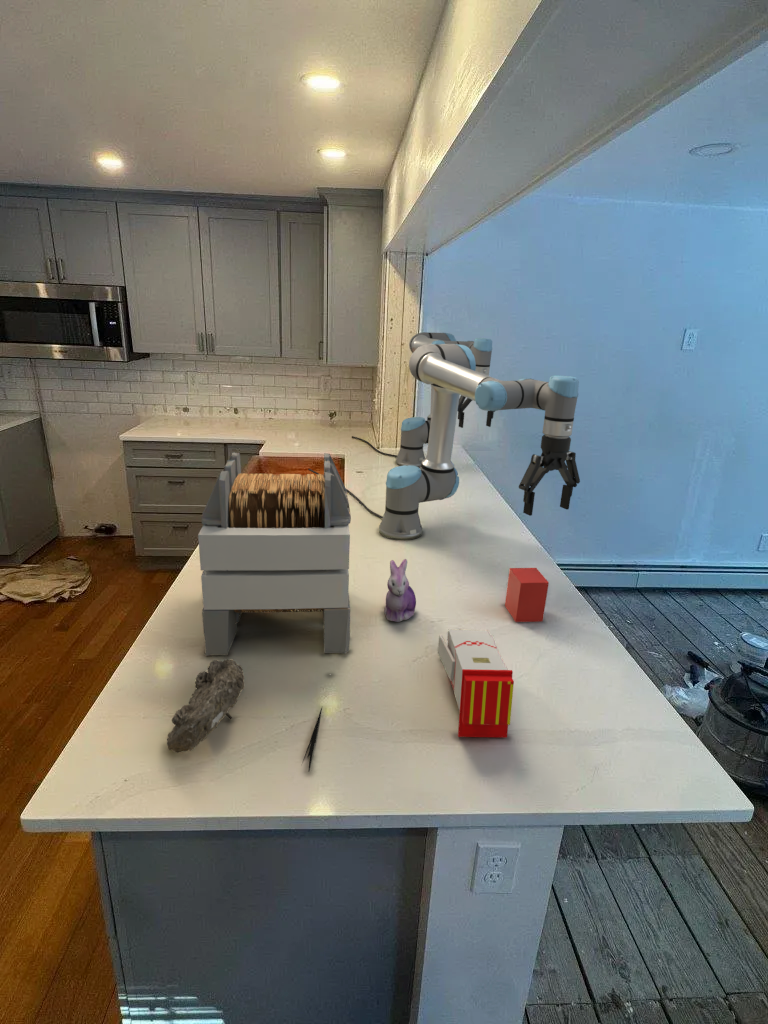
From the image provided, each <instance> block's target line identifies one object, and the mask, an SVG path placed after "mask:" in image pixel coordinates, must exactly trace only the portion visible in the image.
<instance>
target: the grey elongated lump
mask: <svg viewBox="0 0 768 1024" xmlns="http://www.w3.org/2000/svg"><path fill="white" fill-rule="evenodd" d="M243 670H244V669H243V667H242V665H240V664H237V662H236V661H235V660H234V659H232V658H231V659H227V658H226V659H224V660H223V661H222V660H217V659H212V660H211V661H210V663H209V665H208V666H207V671H201V672H199V673H198V674H197V675H196V676H195V680H194V684H195V685H194V687H195V689H194V690H193V693H192V694H191V697H190V698H189V700H188V704H184V705H182V706H181V707H180V709H177V710H176V711H175V713H174V715H173V716H172V718H171V723H172V724H173V727H172V730H171V731H170V732H168V734H167V738H166V741H167V742H166V745H167V749H168V750H169V751H173V752H174V753H176V754H178V753H182V752H188V751H189V752H192V751H193V750H195V748H196V747H197V746H199V744H200V743H201V742H203V741H204V740H205V739H206V738H207V737H208V736H209V735H210V734H211V733H212V732H214V730H215V729H217V727H218V726H219V724H220V722H221V721H222V720H223V719H224V718H225V716H226V717H227V719H229V720H233V717H232V715H230V714H229V710H230V709H231V708H234V706H235V704H236V703H237V702H238V699H239V697H240V695H241V693H242V691H243V690H245V689H244V688H245V675H244V671H243Z"/></svg>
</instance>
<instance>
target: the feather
mask: <svg viewBox="0 0 768 1024" xmlns="http://www.w3.org/2000/svg"><path fill="white" fill-rule="evenodd" d="M329 675H330V676H331V675H332V674H331V673H330V674H329ZM322 710H323V707H321V708H320V710H319V713H318V716H317V719H316V723H315V725H314V728H313V731H312V733H311V737H310V739H309V742H308V745H307V748H306V751H305V754H304V757H303V760H302V763H301V767H302V765H303V763H304V761H305V758H308V759H309V760H308V762H307V763H308V764H307V766H308V771H310V770H311V766H312V765H311V764H312V760H313V757H315V756H314V755H315V751H316V749H315V746H317V739H318V733H319V729H320V722H321V717H322V712H323V711H322ZM313 754H314V755H313ZM306 755H307V757H306Z"/></svg>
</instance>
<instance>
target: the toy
mask: <svg viewBox="0 0 768 1024" xmlns="http://www.w3.org/2000/svg"><path fill="white" fill-rule="evenodd" d="M446 640H447V643H446V641H445V639H444V636H443V635H442V634H439V637H438V646H437V656H438V657H439V659H440V661H441V663H442V666H443V668H444V670H445V672H446V674H447V677H448V679H449V681H450V684H451V687H452V690H453V693H454V697H455V701H456V705H457V708H458V711H459V714H458V715H459V716H458V730H457V731H458V732H457V737H458V738H508V731H509V726H510V725H511V717H512V707H513V697H514V696H513V695H514V684H515V680H514V679H513V673H514V671H513V670H512V669H508V667H507V665H506V662H505V661H504V659H503V658H502V655H501V653H500V651H499V649H498V647H497V643H496V639H495V637H494V635H493V634H491V632H490V631H489V629H467V628H466V629H465V628H463V629H461V628H460V629H459V628H448V630H447V639H446Z"/></svg>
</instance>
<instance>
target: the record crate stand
mask: <svg viewBox="0 0 768 1024" xmlns="http://www.w3.org/2000/svg"><path fill="white" fill-rule="evenodd" d="M241 463H242V462H241V453H240V452H235V451H233V452H231V455H230V457H229V459H227V460H226V463H225V466H224V468H223V470H222V471H220V474H219V475H218V477H217V479H216V482H215V483H214V486H213V489H212V491H211V494H210V495H209V498H208V499H207V502H206V505H205V507H204V509H203V511H202V514H201V517H200V520H201V524H202V527H201V529H200V530H199V532H198V535H197V538H198V550H199V552H198V553H199V563H200V565H199V567H200V571H202V573H201V575H200V580H201V581H200V582H201V594H202V605H203V607H202V609H201V610H202V611H201V617H202V629H203V638H204V639H203V640H204V649H205V650H204V651H205V652H204V655H205V656H206V657H212V656H228V654H229V652H230V650H231V647H232V645H233V643H234V640H235V638H236V635H237V632H238V623H240V620H241V617H242V614H244V613H250V614H251V613H253V614H254V613H257V614H258V613H298V612H301V613H302V612H308V613H309V612H322V614H323V654H344V655H346V654H347V653H349V652H350V639H351V604H350V595H349V594H350V593H349V586H350V585H349V584H350V572H349V571H350V570H349V569H350V549H351V548H350V547H351V545H350V542H351V533H350V532H351V531H350V526H349V525H350V524H351V520H352V516H351V515H352V514H351V509H350V502H349V496H348V492H347V490H348V489H347V487H346V486H345V484H344V482H343V480H342V478H341V474H340V473H339V471H338V469H337V466H336V465H335V462H334V460H333V458H332V455H331V454H330V453H326V452H324V453H323V473H322V474H321V473H319V474H320V475H319V474H318V475H317V474H315V473H306V474H303V475H302V474H301V473H280V474H273V473H244V472H243V473H242V466H241ZM346 489H347V490H346Z"/></svg>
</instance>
